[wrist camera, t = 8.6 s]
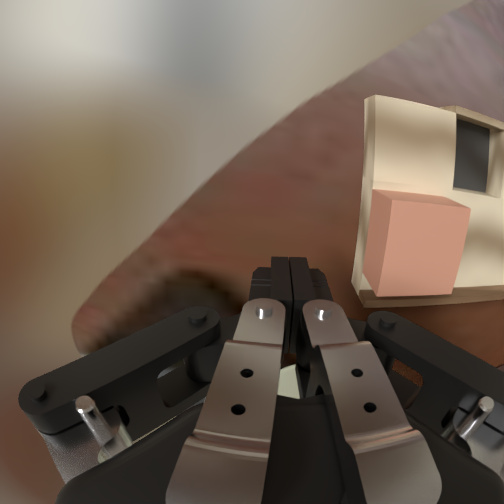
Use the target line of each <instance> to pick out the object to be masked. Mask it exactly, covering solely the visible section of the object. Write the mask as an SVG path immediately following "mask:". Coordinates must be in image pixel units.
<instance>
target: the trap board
mask: <svg viewBox="0 0 504 504" xmlns="http://www.w3.org/2000/svg"><path fill="white" fill-rule="evenodd" d="M364 104H365V128H364V162H363V180H362V195H361V207H360V218H359V227H358V236H357V245H356V253H355V260H354V267H353V274H352V280H351V282H352V284H353V286H354V289H355V291H356V293H357V295H358V297H359V299H360V301H361V303H362V305H363V308H382V307H408V306H427V305H443V304H457V303H469V302H480V301H490V300H500V299H504V123H503V122H500V121H498V120H495V119H493V118H490V117H488V116H485V115H482V114H480V113H477V112H474V111H471V110H468V109H465V108H462V107H459V106H456V105H455V106H446V107H440V108H436V107H432V106H428V105H424V104H420V103H416V102H411V101H407V100H402V99H397V98H391V97H386V96H380V95H373V96H371V97H369V98H366V99H364ZM372 189H379V190H390V191H400V192H410V193H419V194H427V195H435V196H443V197H446V198H449V199H451V200H453V201H455V202H458V203H460V204H462V205H464V206H466V207H469V208H471V212H470V218H469V224H468V229H467V234H466V239H465V244H464V248H463V253H462V257H461V261H460V265H459V269H458V273H457V276H456V280H455V283H454V287H453V290H452V293H451V294H443V295H419V296H382V297H377V296H376V295H375V293H374V291H373V290H372V288H371V286H370V284H369V283H368V281H367V279H366V278H365V276H364V274H363V273H362V270H363V264H364V258H365V251H366V243H367V236H368V228H369V219H370V209H371V199H372Z"/></svg>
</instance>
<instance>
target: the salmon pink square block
mask: <svg viewBox="0 0 504 504" xmlns="http://www.w3.org/2000/svg"><path fill="white" fill-rule="evenodd" d="M470 212H471V208H469V207H466V206H464V205H462V204H460V203H458V202H455V201H453V200H451V199H449V198H446V197H443V196H435V195H427V194H419V193H410V192H400V191H390V190H379V189H372V199H371V209H370V219H369V228H368V236H367V243H366V251H365V258H364V264H363V270H362V273H363V274H364V276H365V278H366V279H367V281H368V283H369V284H370V286H371V288H372V290H373V291H374V293H375V295H376V296H377V297H382V296H419V295H443V294H451V293H452V290H453V287H454V283H455V280H456V276H457V273H458V269H459V265H460V261H461V257H462V253H463V248H464V244H465V239H466V234H467V229H468V224H469V218H470Z"/></svg>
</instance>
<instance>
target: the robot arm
mask: <svg viewBox="0 0 504 504" xmlns="http://www.w3.org/2000/svg"><path fill="white" fill-rule="evenodd" d="M288 343H289V353H296V365H295V372H296V378H297V384H298V390H299V397H300V399H297V398H292V397H287V396H282V395H278V387H279V378H280V369H281V364H282V362H283V357H284V353H288ZM182 359H184V364H183V365H181V366H180V367H178V368H176V369H174V370H173V371H171V372H169V373H167V374H166V375H164V376H162V377H160V378H158V379H157V377H158V375H159V374H160V373H161V372H162V371H163V370H164V369H166V368H168V367H169V366H171V365H173V364H175V363H177V362H178V361H180V360H182ZM395 359H397V360H399V361H401V362H402V363H404V364H405V365H407V366H409V367H410V368H412V369H414V370H415V371H417V372H418V373H420V374H421V376H422V377H423V386H422V387H419V386H418V385H416V384H414V383H413V382H411V381H410V380H408V379H407V378H405V377H403V376H402V375H400V374H399V373H397V372H395V371H394V370H392V366H393V364H394V361H395ZM204 397H206V399H205V401H204V403H200V404H198V405H196V406H193V407H191V406H192V405H194V404H195V403H197V402H198V401H200V400H201V399H203V398H204ZM18 400H19V405H20V407H21V409H22V410H23V411H24V413H25V414H26V415H27V416H28V418H29V419H30V420H31V422H32V423H33V425H34V427H35V428H36V429H37V431H38V432H39V433H40V434H41V435H42V437H43V438H44V439H45V442H46V444H47V447H48V449H49V451H50V454H51V456H52V458H53V460H54V462H55V464H56V466H57V468H58V470H59V472H60V474H61V476H62V478H63V480H64V482H65V485H64V487H63V488H62V489H61V491H60V492H59V494H58V496H57V499H56V502H55V504H504V365H502V366H500V367H498V368H496V367H494V366H492V365H490V364H488V363H487V362H485V361H483V360H481V359H479V358H477V357H476V356H474V355H472V354H470V353H468V352H466V351H465V350H463V349H461V348H459V347H457V346H455V345H454V344H452V343H450V342H448V341H446V340H444V339H442V338H441V337H439V336H437V335H435V334H433V333H431V332H429V331H428V330H426V329H424V328H422V327H420V326H418V325H416V324H414V323H413V322H411V321H409V320H407V319H405V318H403V317H401V316H399V315H397V314H395V313H393V312H389V311H376V312H373V313H371V314H370V315H369V316H368V319H367V322H365V321H360V320H355V319H351V318H348V317H346V315H345V312H344V310H343V309H342V307H341V306H340V305H338V304H337V303H335V302H334V301H333V298H332V295H331V292H330V289H329V287H328V283H327V280H326V277H325V274H324V273H322V272H321V271H320V270H319V269H309V266H308V262H307V258H305V257H289V260H288V257H271V268H268V267H258V268H257V269H256V270H255V271H254V272H253V276H252V282H251V288H250V295H249V301H248V302H247V303H246V304H245V305H244V307H243V309H242V312H241V313H240V314H238V315H236V316H232V317H226V318H220V317H219V314H218V313H217V312H216V311H215V310H214V309H212V308H209V307H202V306H197V307H191V308H187V309H185V310H183V311H181V312H179V313H177V314H174V315H172V316H170V317H168V318H166V319H164V320H162V321H160V322H158V323H156V324H153V325H151V326H149V327H147V328H145V329H143V330H141V331H139V332H137V333H134V334H132V335H130V336H128V337H126V338H124V339H121V340H119V341H117V342H115V343H113V344H111V345H109V346H106V347H104V348H102V349H100V350H98V351H95V352H93V353H91V354H89V355H87V356H84V357H82V358H80V359H78V360H76V361H73V362H71V363H69V364H67V365H65V366H62V367H60V368H58V369H55V370H53V371H51V372H49V373H46V374H44V375H42V376H40V377H37V378H35V379H33V380H31V381H29V382H28V383H26V385H24V387H23V388H22V389H21V391H20V393H19V398H18ZM189 407H191V408H189ZM187 408H189V409H187ZM186 409H187V410H186ZM184 410H185V411H184ZM183 411H184V412H183ZM181 412H182V413H181ZM180 413H181V414H180ZM178 414H179V415H178ZM176 415H178V416H176ZM175 416H176V417H175ZM173 417H175V418H173ZM172 418H173V419H172ZM170 419H172V420H170ZM168 420H170V421H169V422H167V421H168ZM165 422H167V423H166V424H165V425H163V426H161V427H160V428H158V429H157V430H155V431H154V432H152V433H150V434H149V435H147V436H146V437H144V438H143V439H141V440H139V441H138V442H136V443H134V444H133V445H132V442H133V441H135V440H136V439H138V438H140V437H142V436H143V435H145V434H147V433H149V432H150V431H152V430H154V429H155V428H157V427H159V426H160V425H162V424H163V423H165Z"/></svg>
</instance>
